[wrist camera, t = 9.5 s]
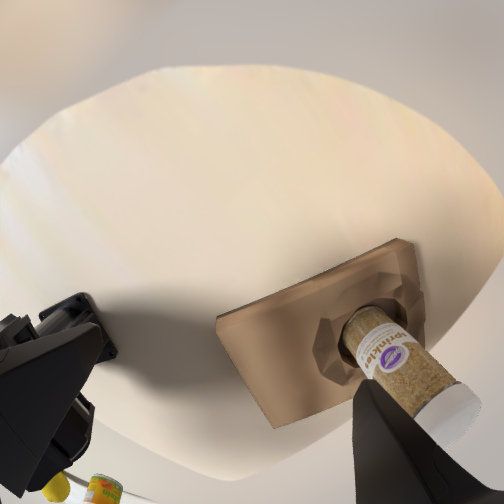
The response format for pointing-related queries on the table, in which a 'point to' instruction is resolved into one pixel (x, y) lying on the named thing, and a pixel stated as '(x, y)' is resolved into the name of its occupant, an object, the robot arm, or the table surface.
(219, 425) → the table surface
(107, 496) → the supplement bottle
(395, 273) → the board
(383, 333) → the sprinkles bottle
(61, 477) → the lemon
